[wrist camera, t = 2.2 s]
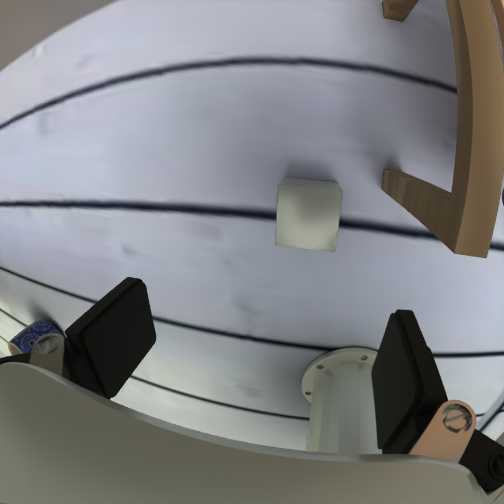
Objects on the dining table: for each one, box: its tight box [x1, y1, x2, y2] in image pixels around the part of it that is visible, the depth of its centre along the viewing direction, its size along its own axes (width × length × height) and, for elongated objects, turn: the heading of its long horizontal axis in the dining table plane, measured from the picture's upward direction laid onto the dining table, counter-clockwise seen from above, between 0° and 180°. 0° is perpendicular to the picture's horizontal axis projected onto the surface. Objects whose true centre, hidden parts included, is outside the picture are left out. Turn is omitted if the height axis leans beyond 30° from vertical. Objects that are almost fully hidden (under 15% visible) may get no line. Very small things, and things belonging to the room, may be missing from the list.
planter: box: [8, 320, 65, 355], centre depth 42 cm, size 11×11×11 cm
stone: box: [275, 178, 342, 251], centre depth 24 cm, size 5×5×5 cm
